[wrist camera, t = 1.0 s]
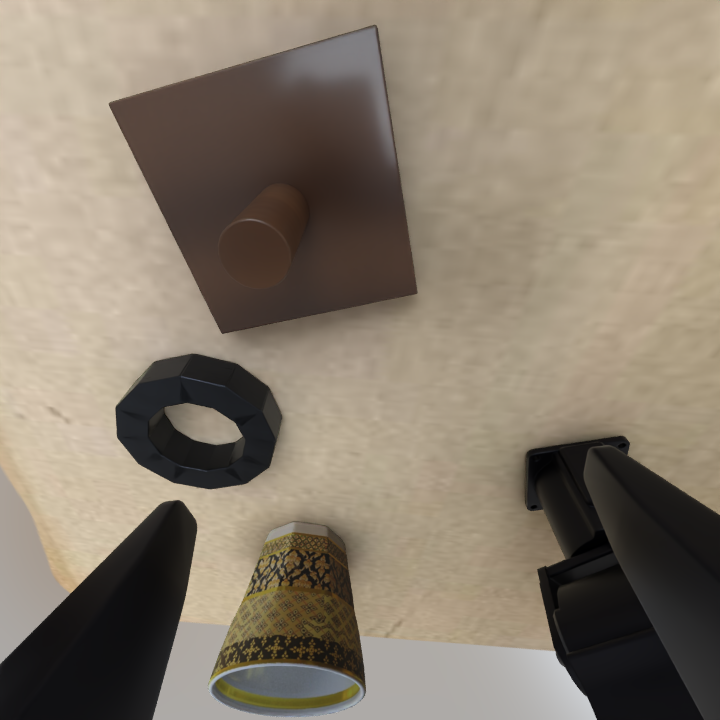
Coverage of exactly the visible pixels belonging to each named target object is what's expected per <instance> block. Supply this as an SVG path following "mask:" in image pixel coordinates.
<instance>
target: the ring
mask: <svg viewBox="0 0 720 720" xmlns="http://www.w3.org/2000/svg"><path fill="white" fill-rule="evenodd" d="M183 403H191V404H196V405H200V406H205V407H209V408H214V409H215V410H217V411H218V412H220V413H221V414H223V415H224V416H226V417H227V418H229V419H230V420H232V421H234V422H235V423H236V424H237V426H238V428H239V430H240V432H241V433H242V435H243V437H242V438H241V439H240V440H238V441H237V442H235V443H229V444H223V445H217V446H216V445H211V444H206V443H201V442H196V441H193V440H191V439H190V438H188V437H186V436H185V435H183V434H181V433H180V432H178V431H176V430H175V429H174V428H173V426H172V425H171V423H170V422H169V420H168V419H167V417H166V416H165V414H164V407H167V406H172V405H178V404H183ZM281 420H282V415H281V413H280V411H279V409H278V406H277V404H276V402H275V400H274V398H273V395H272V393H271V391H270V389H269V387H268V386H266V385H265V384H264V383H262V382H261V381H259V380H258V379H257V378H255V377H254V376H253V375H251V374H250V373H249V372H247V371H246V370H245V369H243V368H242V367H241V366H239V365H238V364H235V363H231V362H227V361H223V360H219V359H214V358H210V357H206V356H202V355H198V354H189V355H184V356H180V357H175V358H170V359H165V360H160V361H156V362H154V363H153V364H152V365H151V366H150V367H149V368H148V369H147V370H146V371H145V372H144V373H143V374H142V375H141V376H140V377H139V379H138V380H137V381H136V382H135V383H134V384H133V385H132V386H131V388H130V389H129V390H128V392H127V393H126V394H125V395H124V397H123V398H122V399H121V401H120V402H119V403H118V404H117V406H116V426H117V438H118V439H119V440H120V442H121V443H122V444H123V445H124V447H125V448H126V449H127V450H128V452H129V453H130V454H131V455H132V456H133V458H134V459H135V460H136V461H137V463H138V464H140V465H141V466H143V467H145V468H147V469H149V470H150V471H152V472H154V473H156V474H158V475H160V476H162V477H163V478H165V479H167V480H169V481H171V482H173V483H177V484H183V485H189V486H194V487H200V488H205V489H217V488H223V487H230V486H236V485H242V484H246V483H248V482H249V481H251V480H252V479H253V478H255V477H256V476H258V475H259V474H261V473H262V472H263V471H265V470H266V469H268V468H269V466H270V464H271V460H272V457H273V453H274V449H275V445H276V442H277V438H278V433H279V429H280V425H281Z"/></svg>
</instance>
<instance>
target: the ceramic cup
mask: <svg viewBox="0 0 720 720" xmlns="http://www.w3.org/2000/svg"><path fill="white" fill-rule="evenodd" d="M208 689H209V692H210V694H211V695H212V696H213V698H215V699H216V700H217V701H218V702H220V703H222V704H224V705H226V706H228V707H231V708H234V709H237V710H240V711H244V712H248V713H253V714H258V715H265V716H276V717H309V716H319V715H326V714H331V713H335V712H338V711H342V710H345V709H348V708H350V707H352V706H354V705H356V704H357V703H358V702H359V701H361V700H362V699H363V697H364V696H365V693H366V685H365V674H364V664H363V657H362V650H361V643H360V636H359V630H358V625H357V620H356V616H355V611H354V604H353V595H352V589H351V583H350V576H349V570H348V562H347V555H346V549H345V544H344V543H343V541H342V540H341V539H340V538H339V537H338V536H337V535H336V534H335V533H333V532H332V531H331V530H330V529H329V528H328V527H327V526H323V525H316V524H309V523H301V522H292V523H289V524H286V525H284V526H281V527H279V528H276V529H273V530H271V532H270V533H269V534H268V536H267V539H266V542H265V544H264V546H263V549H262V552H261V555H260V558H259V560H258V563H257V565H256V568H255V570H254V573H253V575H252V578H251V581H250V583H249V586H248V588H247V591H246V594H245V596H244V599H243V601H242V603H241V605H240V607H239V609H238V611H237V613H236V616H235V618H234V620H233V622H232V624H231V626H230V628H229V631H228V634H227V636H226V638H225V641H224V643H223V646H222V648H221V651H220V653H219V656H218V659H217V661H216V664H215V667H214V670H213V673H212V675H211V678H210V681H209V684H208Z"/></svg>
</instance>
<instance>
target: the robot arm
mask: <svg viewBox="0 0 720 720" xmlns="http://www.w3.org/2000/svg"><path fill="white" fill-rule="evenodd" d="M629 446H630V442H629V441H628V440H627V439H626V438H625V437H624V436H617V437H611V438H604V439H597V440H591V441H584V442H578V443H571V444H565V445H558V446H552V447H545V448H539V449H533V450H530V451H529V452H528V453H527V457H526V493H525V504H526V507H527V509H528V510H530V511H536V510H544V512H545V514H546V516H547V519H548V521H549V523H550V525H551V527H552V530H553V532H554V534H555V536H556V539H557V541H558V543H559V545H560V547H561V550H562V552H563V554H564V556H565V558H566V560H563V561H561V562H558V563H556V564H553V565H551V566H549V567H546V566H544V567H542V568H539V569H538V575H539V579H540V588H541V593H542V597H543V601H544V606H545V610H546V615H547V619H548V624H549V628H550V633H551V637H552V641H553V646H554V649H555V651H556V656H557V659H558V660H559V662H560V664H561V665H563V666H564V667H565V668H566V670H567V671H568V673H569V675H570V676H571V678H572V680H573V681H574V683H575V684H576V685H577V687H578V688H579V689H580V691H582V693H583V694H584V695H585V696H587V697H588V699H589V702H590V704H591V706H592V708H593V711H594V713H595V715H596V718H597V720H720V515H719V514H717V513H716V512H714V511H713V510H711V509H709V508H708V507H706V506H705V505H703V504H702V503H700V502H699V501H697V500H696V499H694V498H692V497H691V496H689V495H688V494H686V493H685V492H683V491H682V490H680V489H679V488H677V487H676V486H674V485H672V484H671V483H669V482H668V481H666V480H665V479H663V478H662V477H660V476H659V475H657V474H656V473H654V472H652V471H651V470H649V469H648V468H646V467H645V466H643V465H642V464H640V463H639V462H637V461H635V460H634V459H632V458H631V457H629V456H628V455H627V454H628V450H629ZM196 534H197V523H196V520H195V518H194V517H193V515H192V514H191V513H190V511H189V510H188V508H187V507H186V506H185V504H184V503H183V502H182V501H180V500H175V501H168V502H163V503H161V504H160V505H159V506H158V507H157V508H156V509H155V510H154V511H153V512H152V513H151V514H150V515H149V516H148V517H147V518H146V519H145V520H144V521H143V522H142V523H141V524H140V525H139V526H138V527H137V528H136V529H135V530H134V531H133V532H132V533H131V534H130V535H129V536H128V537H127V538H126V539H125V540H124V541H123V542H122V543H121V544H120V545H119V546H118V547H117V548H116V549H115V550H114V551H113V552H112V553H111V554H110V555H109V556H108V557H107V558H106V559H105V560H104V561H103V562H102V563H101V564H100V565H99V566H98V567H97V568H96V569H95V570H94V571H93V572H92V573H91V574H90V575H89V576H88V577H87V578H86V579H85V580H84V581H83V582H82V583H81V584H80V585H79V586H78V587H77V588H76V589H75V590H74V591H73V592H72V593H71V594H70V595H69V596H68V597H67V598H66V599H65V600H64V601H63V602H62V603H61V604H60V605H59V606H58V607H57V608H56V609H55V610H54V611H53V612H52V613H51V614H50V615H49V616H48V617H47V618H46V619H45V620H44V621H43V622H42V623H41V624H40V625H39V626H38V627H37V628H36V629H35V630H34V631H33V632H32V633H31V634H30V635H29V636H28V637H27V638H26V639H25V640H24V641H23V642H22V643H21V644H20V645H19V646H18V647H17V648H16V649H15V650H14V651H13V652H12V653H11V654H10V655H9V656H8V657H7V658H6V659H5V660H4V661H3V662H2V663H1V664H0V720H152V719H153V715H154V712H155V708H156V704H157V701H158V697H159V693H160V690H161V685H162V682H163V679H164V675H165V671H166V667H167V663H168V660H169V657H170V653H171V649H172V646H173V642H174V638H175V635H176V631H177V627H178V623H179V620H180V616H181V613H182V609H183V605H184V601H185V596H186V591H187V586H188V580H189V575H190V569H191V563H192V557H193V551H194V546H195V540H196Z"/></svg>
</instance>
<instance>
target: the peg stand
mask: <svg viewBox="0 0 720 720" xmlns="http://www.w3.org/2000/svg"><path fill="white" fill-rule="evenodd" d="M109 106H110V108H111V110H112V112H113V114H114V116H115V118H116V120H117V122H118V124H119V126H120V129H121V131H122V133H123V135H124V137H125V139H126V141H127V143H128V145H129V147H130V149H131V151H132V153H133V155H134V157H135V159H136V161H137V163H138V165H139V167H140V169H141V171H142V173H143V175H144V177H145V179H146V181H147V183H148V185H149V187H150V189H151V191H152V193H153V195H154V197H155V199H156V201H157V203H158V206H159V208H160V210H161V212H162V214H163V216H164V218H165V220H166V222H167V224H168V226H169V228H170V230H171V232H172V234H173V236H174V238H175V240H176V242H177V244H178V246H179V248H180V250H181V252H182V254H183V256H184V258H185V260H186V262H187V264H188V266H189V268H190V270H191V272H192V274H193V276H194V278H195V280H196V283H197V285H198V287H199V289H200V291H201V293H202V295H203V297H204V299H205V301H206V303H207V305H208V307H209V309H210V311H211V313H212V315H213V317H214V319H215V321H216V323H217V325H218V327H219V329H220V331H221V333H222V334H224V333H229V332H234V331H238V330H243V329H248V328H253V327H258V326H263V325H268V324H272V323H277V322H282V321H287V320H292V319H297V318H301V317H306V316H311V315H316V314H321V313H326V312H331V311H335V310H340V309H345V308H350V307H355V306H360V305H365V304H369V303H374V302H379V301H384V300H389V299H394V298H399V297H403V296H408V295H413V294H417V285H416V279H415V272H414V266H413V259H412V252H411V246H410V239H409V233H408V226H407V219H406V213H405V206H404V200H403V193H402V186H401V180H400V173H399V167H398V160H397V153H396V147H395V140H394V134H393V127H392V120H391V114H390V107H389V101H388V94H387V87H386V81H385V74H384V68H383V61H382V54H381V48H380V41H379V35H378V28H377V26H376V25H373V26H369V27H366V28H362V29H359V30H355V31H352V32H349V33H345V34H342V35H338V36H335V37H332V38H328V39H325V40H321V41H318V42H314V43H311V44H308V45H304V46H301V47H297V48H294V49H290V50H287V51H284V52H280V53H277V54H273V55H270V56H267V57H263V58H260V59H256V60H253V61H249V62H246V63H243V64H239V65H236V66H232V67H229V68H225V69H222V70H219V71H215V72H212V73H208V74H205V75H202V76H198V77H195V78H191V79H188V80H184V81H181V82H178V83H174V84H171V85H167V86H164V87H160V88H157V89H154V90H150V91H147V92H143V93H140V94H137V95H133V96H130V97H126V98H123V99H119V100H116V101H113V102H110V103H109Z"/></svg>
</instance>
